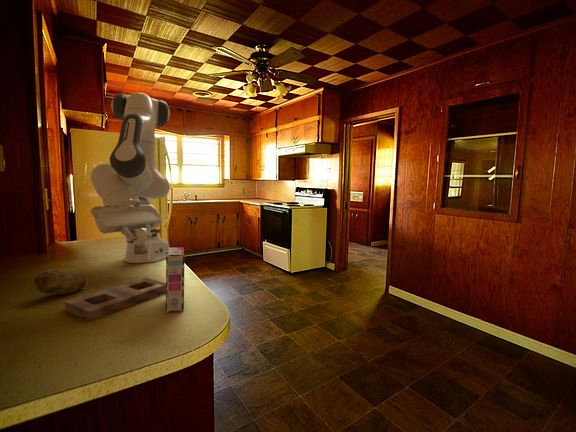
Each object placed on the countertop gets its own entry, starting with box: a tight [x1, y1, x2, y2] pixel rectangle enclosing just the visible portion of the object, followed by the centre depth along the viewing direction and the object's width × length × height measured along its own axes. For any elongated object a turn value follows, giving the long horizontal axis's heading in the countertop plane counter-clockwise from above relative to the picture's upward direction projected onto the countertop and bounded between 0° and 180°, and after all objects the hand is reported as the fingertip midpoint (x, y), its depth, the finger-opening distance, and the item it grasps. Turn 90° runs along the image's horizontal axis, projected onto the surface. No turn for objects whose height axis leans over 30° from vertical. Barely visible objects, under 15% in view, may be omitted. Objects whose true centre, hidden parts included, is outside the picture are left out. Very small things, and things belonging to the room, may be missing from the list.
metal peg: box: [133, 228, 148, 255], centre depth 93 cm, size 4×4×8 cm
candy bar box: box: [165, 246, 185, 313], centre depth 86 cm, size 11×5×16 cm, turn 21°
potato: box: [33, 269, 87, 296], centre depth 92 cm, size 8×13×8 cm, turn 128°
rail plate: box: [64, 277, 166, 322], centre depth 89 cm, size 25×12×3 cm, turn 152°
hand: (142, 238), depth 93 cm, fingers closed on metal peg, 4 cm apart
